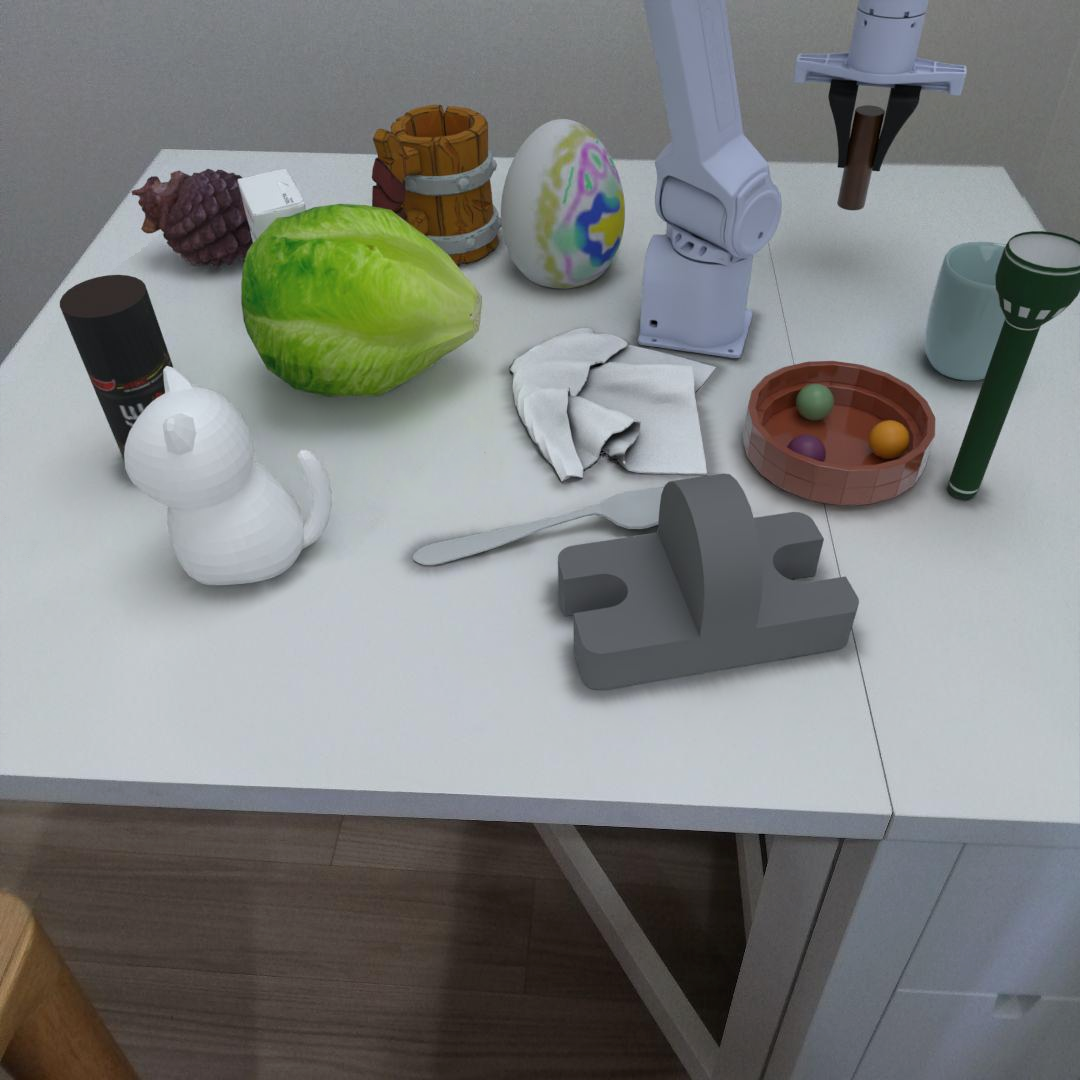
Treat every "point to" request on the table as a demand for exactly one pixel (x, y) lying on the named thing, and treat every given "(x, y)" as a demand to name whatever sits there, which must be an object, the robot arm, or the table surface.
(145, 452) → the cat figurine
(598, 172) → the decorative egg
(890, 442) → the amber bead
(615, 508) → the spoon
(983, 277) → the cup
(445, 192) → the mug
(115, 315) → the deodorant
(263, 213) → the ink box
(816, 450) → the plum bead
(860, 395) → the bowl
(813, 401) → the sage bead
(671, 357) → the cloth
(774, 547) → the bracket
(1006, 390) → the flashlight
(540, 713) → the table surface
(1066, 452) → the table surface
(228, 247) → the pine cone
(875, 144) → the stick
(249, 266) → the lettuce
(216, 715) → the table surface
